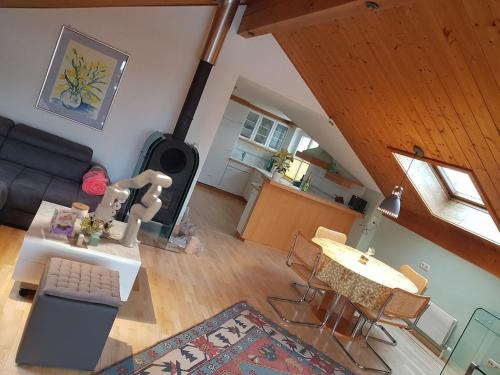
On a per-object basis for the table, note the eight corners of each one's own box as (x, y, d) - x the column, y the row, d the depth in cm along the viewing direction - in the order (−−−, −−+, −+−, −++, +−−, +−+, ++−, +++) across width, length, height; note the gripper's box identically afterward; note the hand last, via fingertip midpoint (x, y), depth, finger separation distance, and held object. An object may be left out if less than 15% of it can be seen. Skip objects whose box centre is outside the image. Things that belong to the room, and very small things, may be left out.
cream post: (80, 244, 258) (83, 234, 257) (80, 246, 256) (84, 236, 255) (76, 243, 256) (79, 234, 256) (76, 245, 254) (80, 235, 253)
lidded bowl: (66, 212, 306) (71, 199, 304) (82, 214, 315) (87, 201, 313) (71, 218, 297) (76, 205, 296) (87, 220, 306) (92, 207, 304)
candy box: (49, 233, 257) (57, 210, 255) (47, 229, 261) (55, 207, 259) (70, 235, 267) (78, 214, 265) (68, 232, 271) (76, 210, 269)
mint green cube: (95, 244, 269) (98, 235, 268) (96, 247, 265) (100, 238, 264) (87, 243, 266) (90, 234, 265) (89, 246, 262) (92, 237, 261)
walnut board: (82, 238, 271) (84, 232, 270) (87, 249, 256) (90, 243, 256) (66, 235, 264) (68, 229, 263) (70, 247, 250) (72, 240, 249)
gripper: (117, 205, 270) (109, 227, 271) (92, 199, 259) (84, 222, 261) (120, 209, 264) (111, 231, 265) (95, 203, 253) (86, 226, 255)
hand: (98, 227), depth 263 cm, fingers open, 9 cm apart
